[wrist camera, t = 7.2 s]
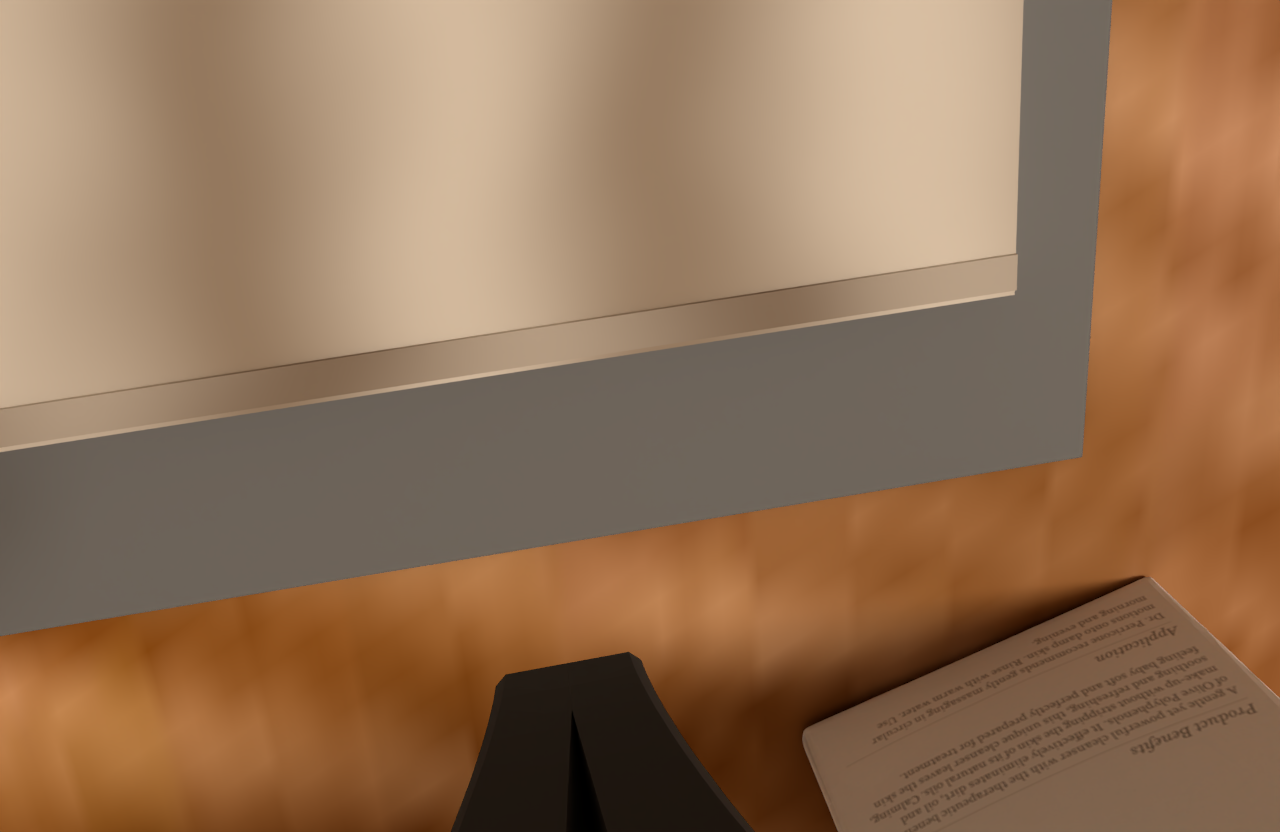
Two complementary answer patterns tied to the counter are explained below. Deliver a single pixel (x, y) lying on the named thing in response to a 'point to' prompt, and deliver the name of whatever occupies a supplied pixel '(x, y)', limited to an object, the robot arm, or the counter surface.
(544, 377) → the underlay mat
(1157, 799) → the skincare box
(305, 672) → the counter surface
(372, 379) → the loose plank
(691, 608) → the counter surface
